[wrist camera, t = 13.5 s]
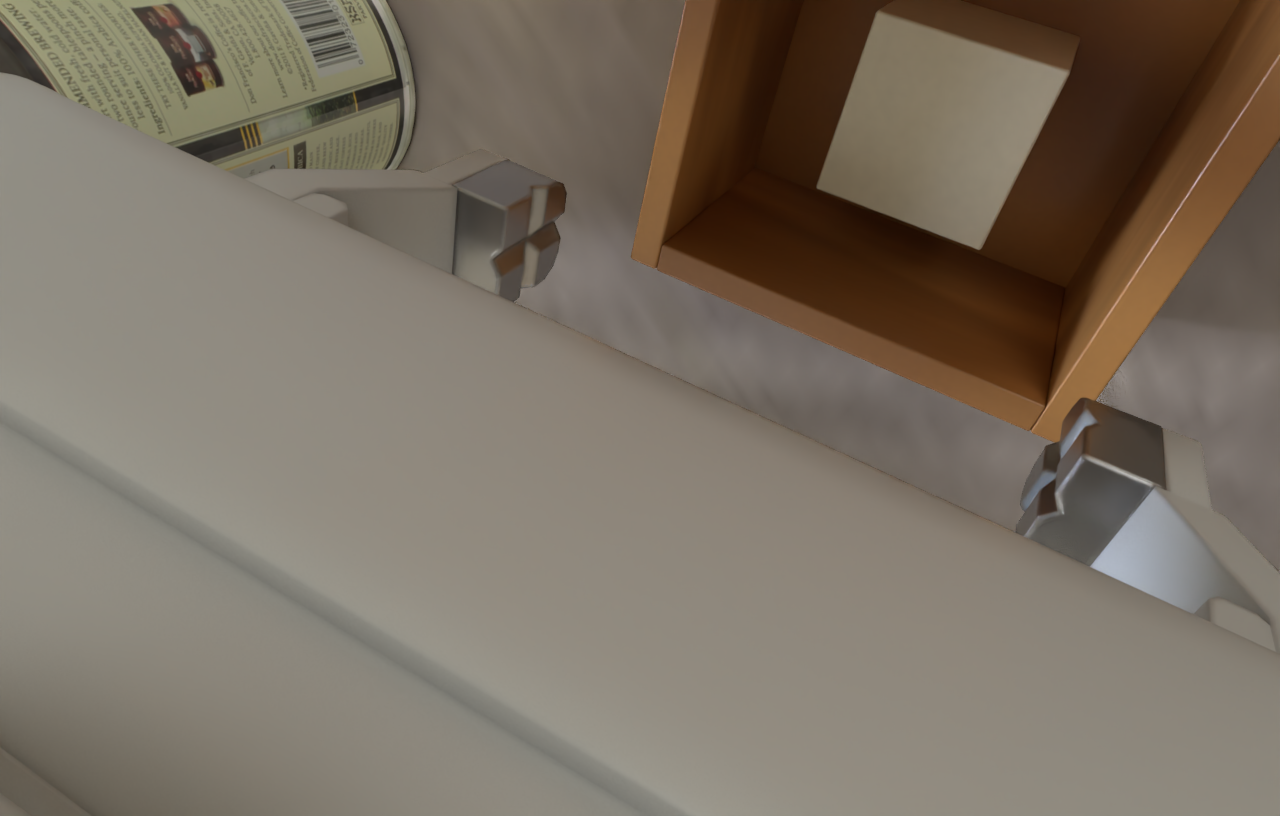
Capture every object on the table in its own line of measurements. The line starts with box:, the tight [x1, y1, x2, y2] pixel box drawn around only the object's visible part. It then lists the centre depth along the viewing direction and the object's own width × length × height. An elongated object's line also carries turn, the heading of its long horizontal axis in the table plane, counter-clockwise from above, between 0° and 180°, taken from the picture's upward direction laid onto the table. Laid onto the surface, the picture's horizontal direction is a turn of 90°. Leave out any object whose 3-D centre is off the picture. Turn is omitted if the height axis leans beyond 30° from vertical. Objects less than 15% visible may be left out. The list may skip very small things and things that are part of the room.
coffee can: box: [0, 0, 416, 179], centre depth 28 cm, size 10×10×14 cm
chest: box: [631, 0, 1280, 442], centre depth 19 cm, size 14×12×8 cm
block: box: [816, 0, 1080, 250], centre depth 21 cm, size 4×4×4 cm
